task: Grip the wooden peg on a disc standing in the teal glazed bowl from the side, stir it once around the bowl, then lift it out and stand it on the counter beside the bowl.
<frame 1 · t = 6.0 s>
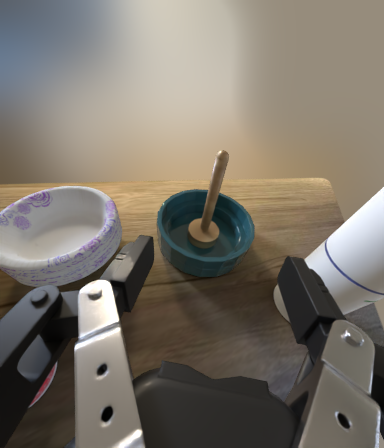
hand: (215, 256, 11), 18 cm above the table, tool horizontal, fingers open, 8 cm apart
cylindrical container: (295, 303, 28), on the table
wooden peg on disc: (202, 236, 34), point 1 cm above the table, touching bowl
bowl: (201, 238, 34), on the table
paper bowls: (77, 251, 30), on the table
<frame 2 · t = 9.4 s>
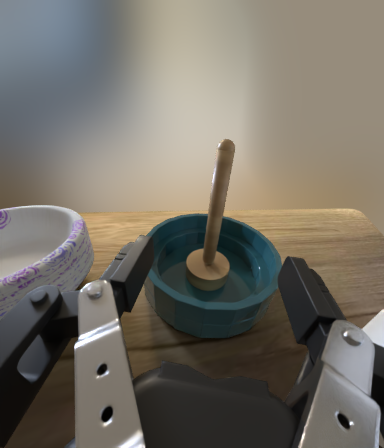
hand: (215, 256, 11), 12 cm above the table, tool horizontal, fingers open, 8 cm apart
cylindrical container: (378, 397, 15), on the table
wooden peg on disc: (206, 273, 24), point 1 cm above the table, touching bowl
bowl: (205, 277, 25), on the table
paper bowls: (28, 292, 21), on the table
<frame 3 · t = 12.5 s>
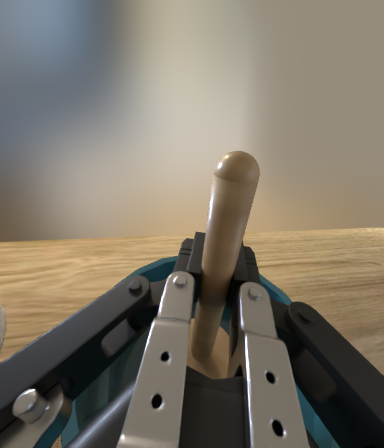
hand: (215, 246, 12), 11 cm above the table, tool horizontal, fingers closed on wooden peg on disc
wooden peg on disc: (198, 364, 15), point 1 cm above the table, touching bowl, gripper
bowl: (197, 368, 15), on the table
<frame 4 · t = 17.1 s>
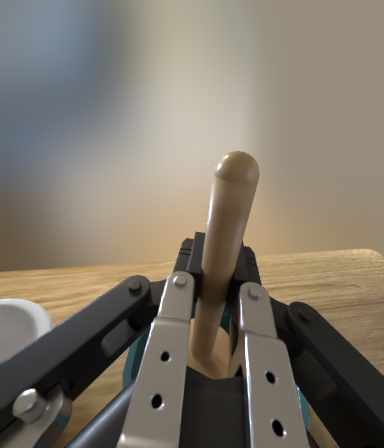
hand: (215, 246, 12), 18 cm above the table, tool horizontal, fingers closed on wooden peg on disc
wooden peg on disc: (198, 364, 15), point 8 cm above the table, touching gripper
bowl: (207, 380, 20), on the table
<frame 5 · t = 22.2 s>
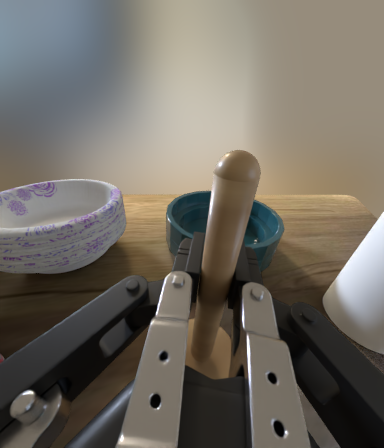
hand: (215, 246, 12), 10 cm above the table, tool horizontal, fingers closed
cylindrical container: (359, 318, 19), on the table
wooden peg on disc: (198, 365, 15), on the table
bowl: (218, 242, 29), on the table
paper bowls: (72, 249, 25), on the table
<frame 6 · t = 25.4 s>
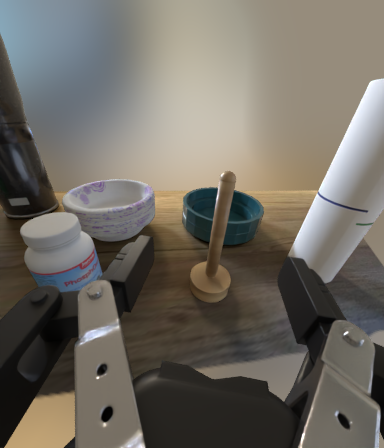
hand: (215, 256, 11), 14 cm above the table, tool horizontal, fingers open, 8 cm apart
cylindrical container: (308, 267, 31), on the table
wooden peg on disc: (208, 285, 26), on the table
pill bottle: (81, 297, 23), on the table
bowl: (218, 224, 40), on the table
paper bowls: (118, 228, 37), on the table
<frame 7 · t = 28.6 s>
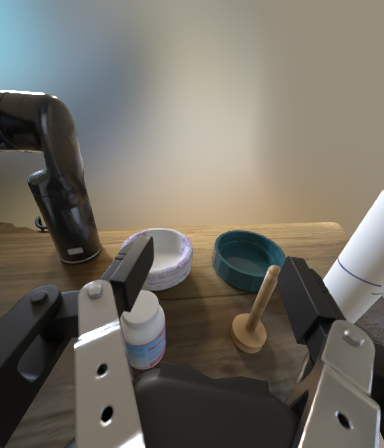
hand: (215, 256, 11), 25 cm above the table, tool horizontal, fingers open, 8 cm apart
cylindrical container: (327, 314, 36), on the table
wooden peg on disc: (246, 335, 31), on the table
pill bottle: (146, 348, 29), on the table
bowl: (244, 266, 46), on the table
paper bowls: (158, 273, 42), on the table
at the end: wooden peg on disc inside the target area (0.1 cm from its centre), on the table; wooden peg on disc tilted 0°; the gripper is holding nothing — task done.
